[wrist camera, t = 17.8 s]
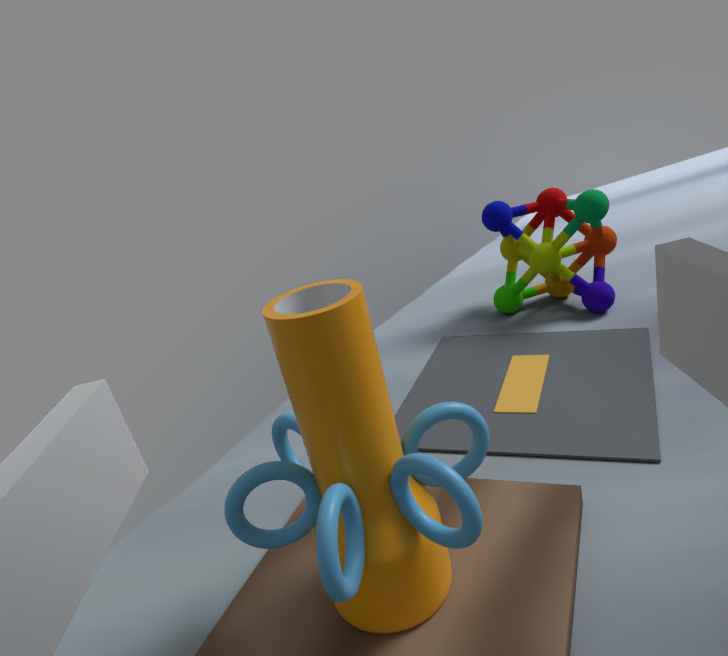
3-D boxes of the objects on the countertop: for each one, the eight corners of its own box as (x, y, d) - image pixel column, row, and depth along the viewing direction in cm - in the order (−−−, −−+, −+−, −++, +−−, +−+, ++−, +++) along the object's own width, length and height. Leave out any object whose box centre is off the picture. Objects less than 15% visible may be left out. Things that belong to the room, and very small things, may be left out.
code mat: (648, 329, 47) (648, 326, 47) (660, 462, 32) (660, 458, 32) (443, 338, 55) (442, 336, 55) (377, 448, 40) (376, 444, 40)
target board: (582, 503, 31) (580, 485, 30) (553, 848, 18) (549, 826, 17) (329, 482, 38) (325, 468, 37) (173, 718, 25) (163, 700, 24)
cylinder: (234, 607, 28) (120, 339, 23) (369, 483, 35) (305, 253, 29) (430, 758, 20) (322, 391, 14) (558, 557, 26) (518, 254, 21)
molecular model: (489, 318, 57) (474, 206, 53) (511, 292, 62) (499, 188, 58) (610, 321, 51) (604, 194, 46) (623, 291, 56) (618, 175, 52)
